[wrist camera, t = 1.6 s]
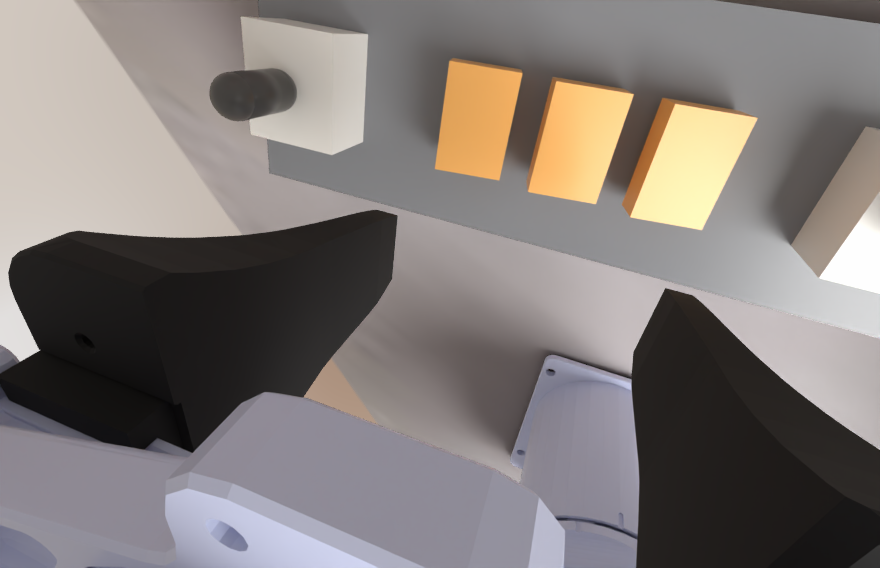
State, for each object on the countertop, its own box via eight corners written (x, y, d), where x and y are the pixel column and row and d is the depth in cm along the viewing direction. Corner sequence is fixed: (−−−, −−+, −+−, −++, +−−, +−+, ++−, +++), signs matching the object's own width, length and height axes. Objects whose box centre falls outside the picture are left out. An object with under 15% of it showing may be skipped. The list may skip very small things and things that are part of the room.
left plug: (363, 141, 19) (274, 179, 14) (289, 124, 19) (180, 153, 14) (368, 34, 16) (265, 33, 12) (285, 18, 17) (156, 11, 12)
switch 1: (499, 170, 17) (499, 180, 16) (438, 160, 17) (434, 169, 16) (521, 69, 15) (522, 73, 14) (452, 57, 15) (449, 60, 14)
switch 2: (688, 216, 16) (701, 229, 15) (621, 204, 16) (630, 217, 15) (739, 110, 14) (757, 117, 13) (662, 97, 14) (675, 103, 13)
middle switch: (589, 192, 16) (595, 204, 15) (526, 181, 16) (528, 192, 15) (624, 88, 14) (633, 93, 13) (552, 76, 15) (556, 81, 14)
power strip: (855, 296, 18) (901, 344, 16) (311, 156, 24) (269, 173, 21) (1039, 57, 14) (1154, 62, 11) (307, -50, 19) (253, -66, 16)
